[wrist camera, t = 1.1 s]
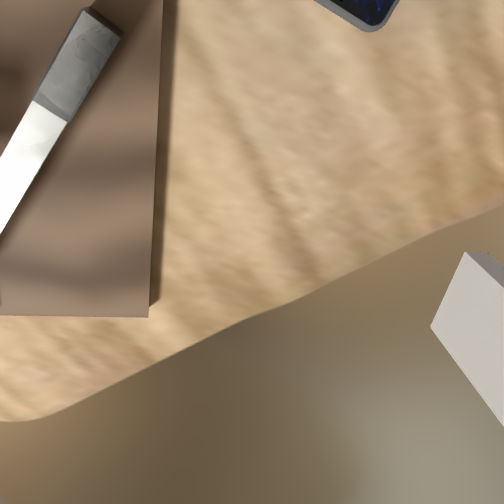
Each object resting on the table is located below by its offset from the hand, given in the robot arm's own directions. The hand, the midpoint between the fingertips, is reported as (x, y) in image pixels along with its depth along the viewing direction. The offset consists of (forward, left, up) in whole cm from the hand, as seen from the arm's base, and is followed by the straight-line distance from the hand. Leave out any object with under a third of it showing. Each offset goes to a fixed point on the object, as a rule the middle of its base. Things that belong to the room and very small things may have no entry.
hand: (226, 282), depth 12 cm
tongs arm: (+3, -10, -18) cm, 21 cm away
